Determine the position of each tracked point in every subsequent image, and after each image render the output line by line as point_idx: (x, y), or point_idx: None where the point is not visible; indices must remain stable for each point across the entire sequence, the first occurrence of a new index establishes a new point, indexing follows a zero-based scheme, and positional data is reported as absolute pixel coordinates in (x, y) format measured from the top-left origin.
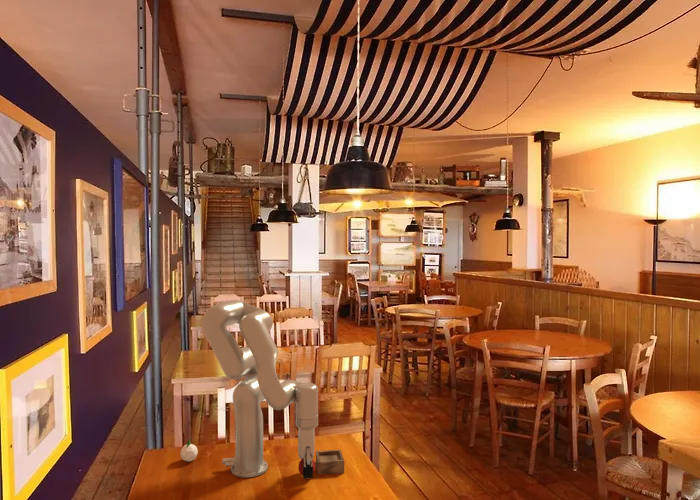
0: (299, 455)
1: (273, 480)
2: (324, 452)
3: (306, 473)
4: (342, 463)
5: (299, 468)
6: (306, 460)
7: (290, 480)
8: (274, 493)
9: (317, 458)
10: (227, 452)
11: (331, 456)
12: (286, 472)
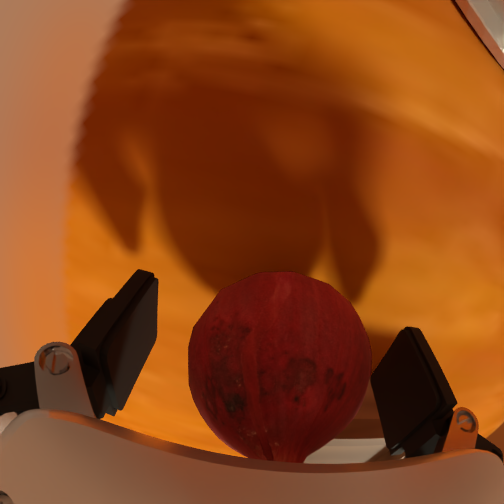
0: (31, 457)
1: (348, 30)
2: (401, 454)
3: (96, 317)
4: None
5: (255, 295)
6: (226, 427)
7: (292, 162)
8: (129, 13)
9: (354, 438)
10: None
11: (358, 459)
12: (436, 180)
